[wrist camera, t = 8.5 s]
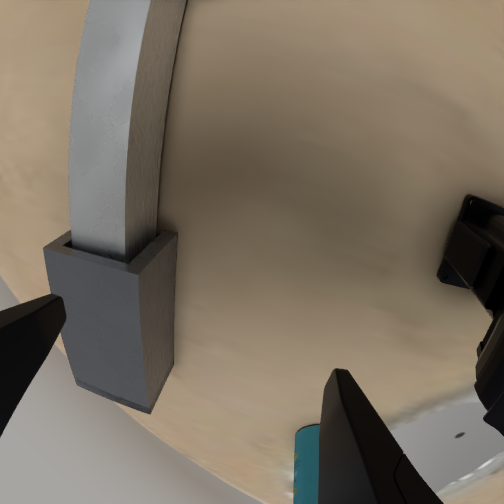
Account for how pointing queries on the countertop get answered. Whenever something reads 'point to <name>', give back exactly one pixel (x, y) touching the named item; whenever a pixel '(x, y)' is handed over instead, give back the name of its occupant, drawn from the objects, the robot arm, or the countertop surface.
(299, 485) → the tube
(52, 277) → the sleeve
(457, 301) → the countertop surface
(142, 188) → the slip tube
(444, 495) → the countertop surface
